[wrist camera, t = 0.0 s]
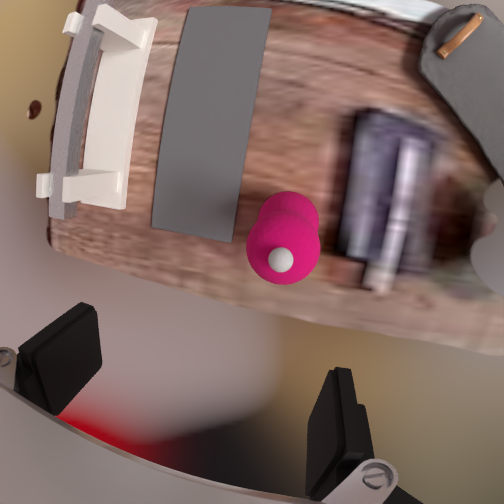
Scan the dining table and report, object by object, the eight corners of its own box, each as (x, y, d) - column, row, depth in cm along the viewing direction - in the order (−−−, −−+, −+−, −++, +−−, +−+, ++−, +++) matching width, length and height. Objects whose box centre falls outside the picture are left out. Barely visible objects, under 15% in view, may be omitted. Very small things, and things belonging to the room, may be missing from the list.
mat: (190, 8, 33) (189, 7, 33) (271, 10, 32) (271, 8, 32) (152, 226, 43) (151, 227, 43) (231, 242, 42) (230, 243, 42)
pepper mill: (253, 228, 41) (213, 284, 22) (275, 179, 39) (253, 192, 20) (301, 251, 41) (302, 326, 22) (326, 203, 39) (351, 240, 20)
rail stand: (115, 26, 35) (70, 0, 23) (158, 20, 34) (116, -14, 22) (86, 201, 44) (32, 215, 32) (125, 208, 43) (73, 224, 31)
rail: (97, 4, 26) (87, -2, 24) (114, 0, 26) (105, -7, 24) (61, 213, 35) (48, 216, 33) (76, 216, 35) (64, 219, 32)
